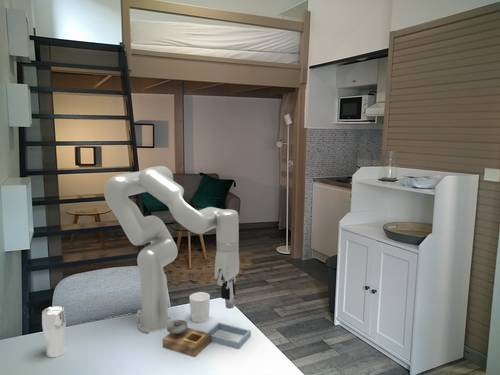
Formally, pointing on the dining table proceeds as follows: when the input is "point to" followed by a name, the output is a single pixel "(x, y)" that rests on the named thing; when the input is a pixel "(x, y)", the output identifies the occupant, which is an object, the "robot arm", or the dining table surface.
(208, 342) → the block
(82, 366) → the dining table surface
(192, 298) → the white cup
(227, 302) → the lock pin
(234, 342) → the tray
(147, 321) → the robot arm
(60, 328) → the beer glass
